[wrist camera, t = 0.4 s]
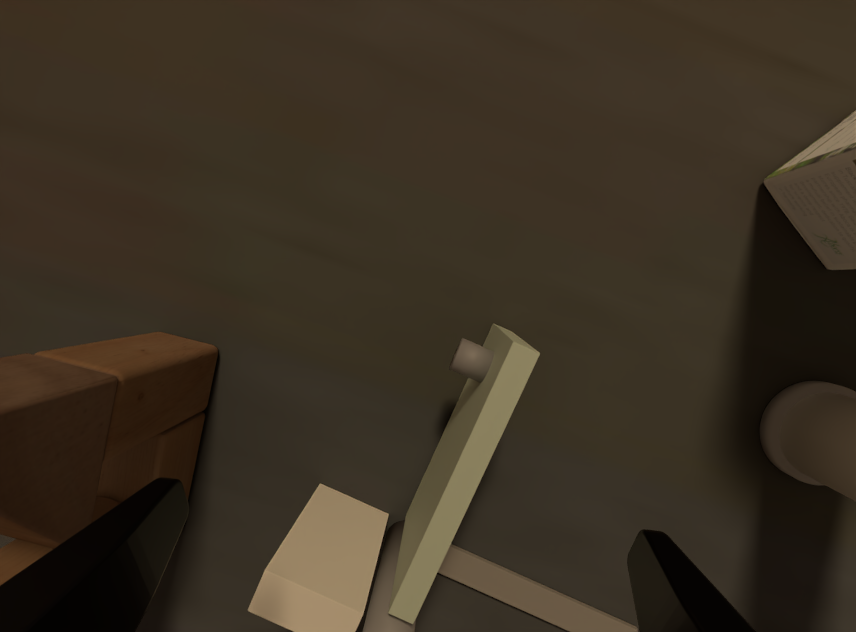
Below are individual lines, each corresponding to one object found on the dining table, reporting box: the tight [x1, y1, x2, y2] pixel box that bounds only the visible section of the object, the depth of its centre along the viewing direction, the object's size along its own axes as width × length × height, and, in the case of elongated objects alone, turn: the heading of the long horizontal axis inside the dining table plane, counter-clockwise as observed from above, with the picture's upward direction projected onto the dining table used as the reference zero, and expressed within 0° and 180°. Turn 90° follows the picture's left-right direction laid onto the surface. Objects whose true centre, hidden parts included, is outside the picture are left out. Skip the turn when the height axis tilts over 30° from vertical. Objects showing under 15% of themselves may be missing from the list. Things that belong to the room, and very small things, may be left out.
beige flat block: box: [388, 323, 540, 624], centre depth 19 cm, size 11×2×7 cm, turn 156°
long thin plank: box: [248, 483, 638, 632], centre depth 19 cm, size 18×2×8 cm, turn 66°
